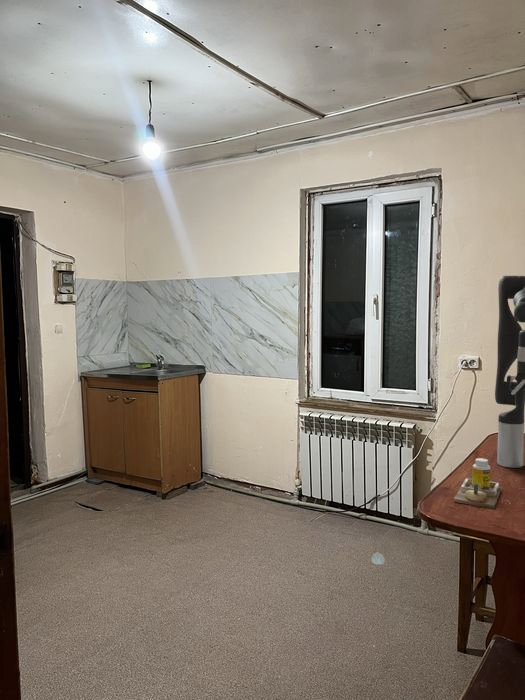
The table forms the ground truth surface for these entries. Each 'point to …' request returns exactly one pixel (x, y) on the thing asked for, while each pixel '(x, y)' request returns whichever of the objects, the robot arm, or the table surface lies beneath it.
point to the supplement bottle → (481, 474)
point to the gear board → (484, 504)
